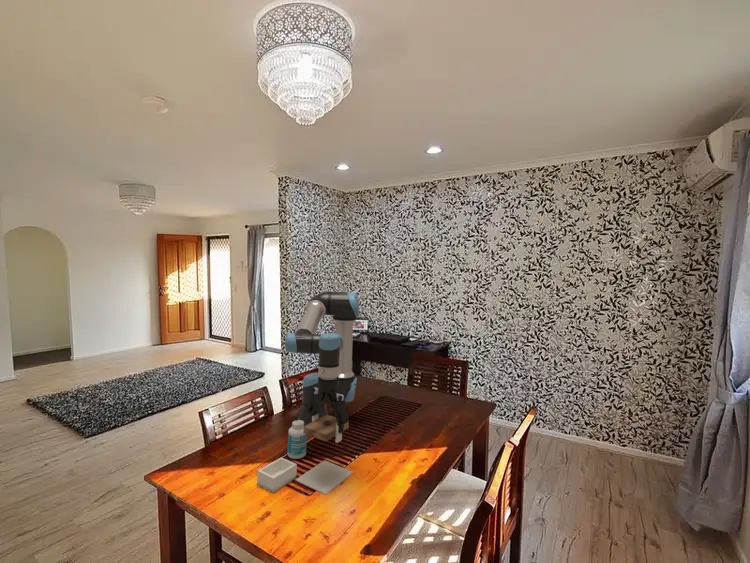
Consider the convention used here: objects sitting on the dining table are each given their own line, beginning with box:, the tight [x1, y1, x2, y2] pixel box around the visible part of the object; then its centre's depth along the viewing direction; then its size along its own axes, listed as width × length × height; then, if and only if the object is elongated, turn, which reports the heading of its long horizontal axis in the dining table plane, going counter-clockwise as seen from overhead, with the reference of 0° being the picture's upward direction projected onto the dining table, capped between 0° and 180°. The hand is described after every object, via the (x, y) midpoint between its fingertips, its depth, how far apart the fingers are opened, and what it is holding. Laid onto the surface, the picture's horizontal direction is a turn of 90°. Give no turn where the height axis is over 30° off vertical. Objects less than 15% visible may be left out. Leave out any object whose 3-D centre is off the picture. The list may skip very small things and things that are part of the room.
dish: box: [256, 456, 298, 494], centre depth 128 cm, size 8×11×5 cm
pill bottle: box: [287, 419, 308, 460], centre depth 146 cm, size 8×7×14 cm
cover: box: [303, 414, 350, 442], centre depth 131 cm, size 10×13×3 cm
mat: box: [295, 460, 354, 495], centre depth 132 cm, size 14×16×1 cm
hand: (326, 436), depth 131 cm, fingers closed on cover, 10 cm apart
